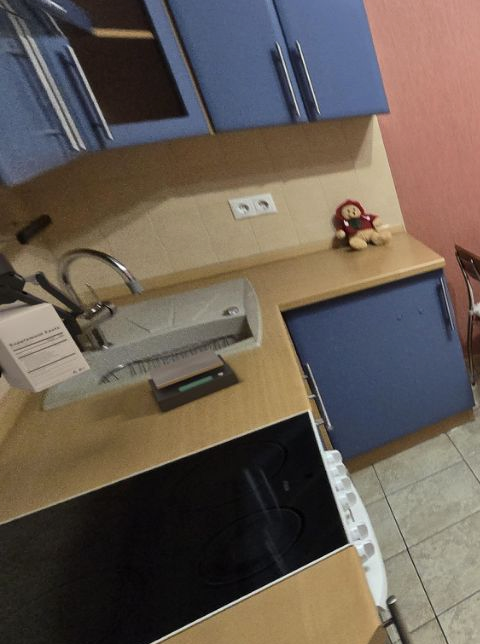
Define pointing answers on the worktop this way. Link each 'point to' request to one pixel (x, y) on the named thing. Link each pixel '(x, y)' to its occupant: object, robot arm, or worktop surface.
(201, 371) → the scale pan
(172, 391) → the scale base
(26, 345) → the rectangular carton
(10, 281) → the robot arm
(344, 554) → the worktop surface
